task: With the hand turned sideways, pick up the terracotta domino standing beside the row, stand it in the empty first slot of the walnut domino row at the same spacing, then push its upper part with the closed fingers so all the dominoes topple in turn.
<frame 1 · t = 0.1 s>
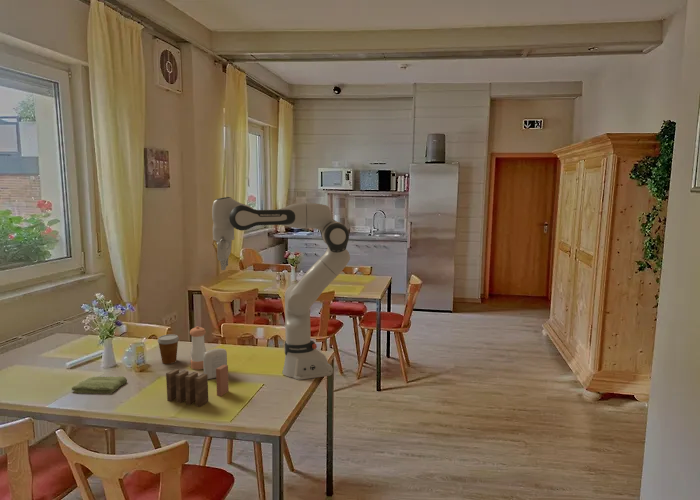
hand: (224, 268, 210), 48 cm above the table, tool pointing down, fingers open, 8 cm apart
pepper shaker: (199, 367, 227), on the table
walnut domino 3: (183, 400, 192), on the table
disposable coffee cup: (169, 362, 234), on the table
walnut domino 2: (192, 401, 190), on the table
walnut domino 4: (173, 398, 193), on the table
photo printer: (215, 376, 215), on the table
terracotta domino: (222, 393, 198), on the table
walnut domino 1: (202, 403, 188), on the table
washcloth: (100, 388, 204), on the table
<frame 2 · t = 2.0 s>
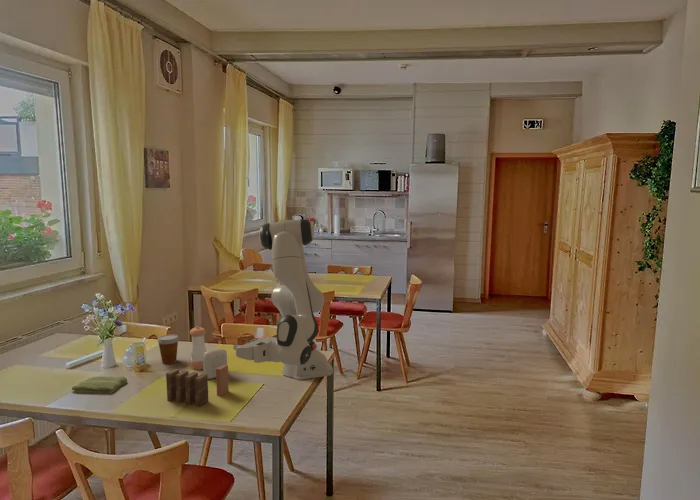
hand: (242, 344, 192), 21 cm above the table, tool horizontal, fingers open, 8 cm apart
nothing on the table moved.
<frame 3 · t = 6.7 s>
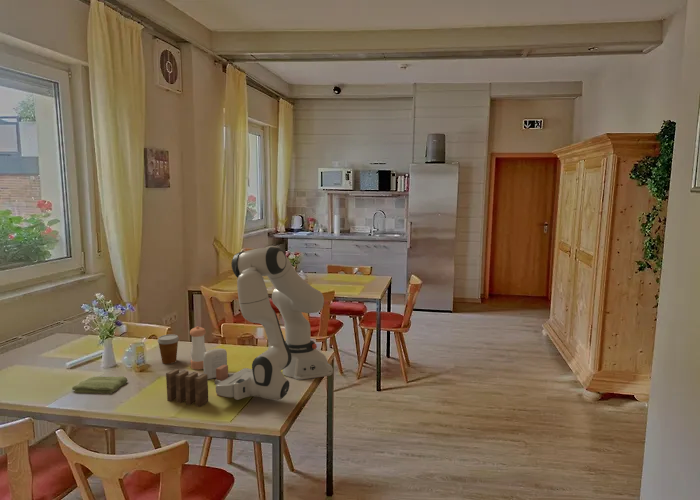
hand: (220, 378, 198), 6 cm above the table, tool horizontal, fingers closed on terracotta domino, 5 cm apart
terracotta domino: (222, 393, 198), on the table, touching gripper
everything else where it was.
when the fingers open (7 cm above the table, at t = 12.6 s): terracotta domino stays where it is, on the table.
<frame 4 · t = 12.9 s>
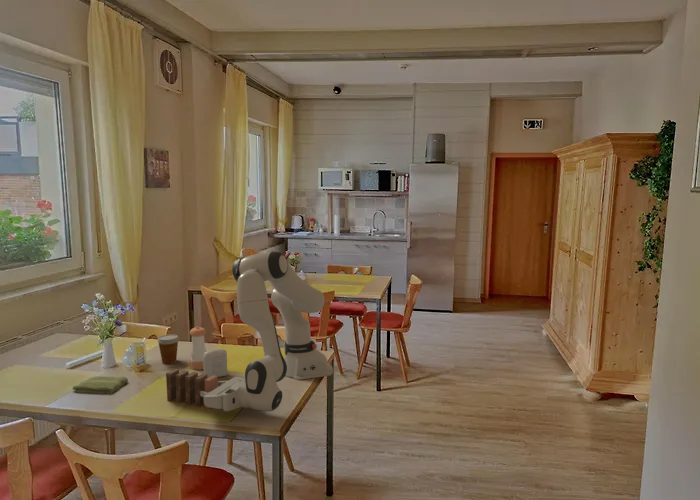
hand: (209, 388, 186), 7 cm above the table, tool horizontal, fingers open, 8 cm apart
terracotta domino: (212, 405, 187), on the table
everything else where it was.
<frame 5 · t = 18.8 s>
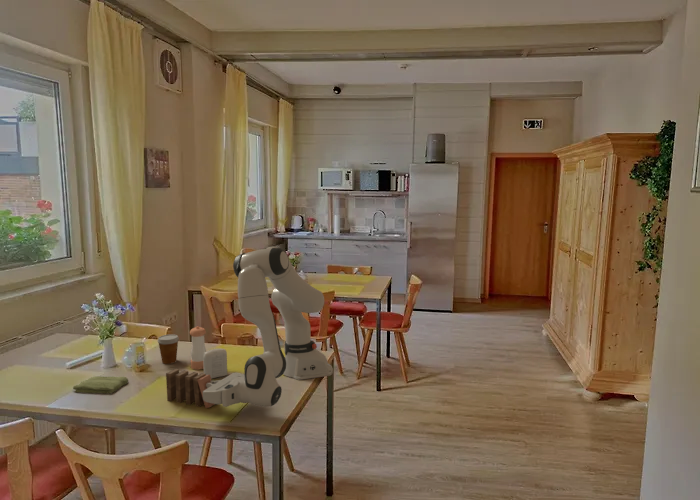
hand: (208, 383, 186), 8 cm above the table, tool horizontal, fingers closed
terracotta domino: (211, 404, 187), on the table, tilted 18°
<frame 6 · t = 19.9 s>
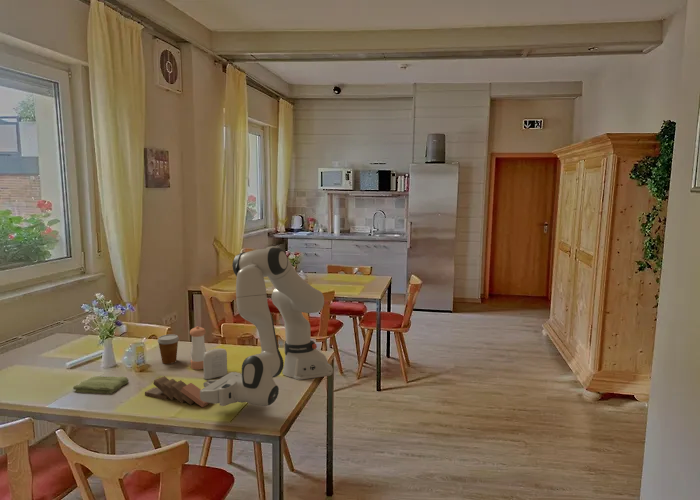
hand: (205, 383, 187), 9 cm above the table, tool horizontal, fingers closed
walnut domino 3: (177, 395, 193), point 1 cm above the table, tilted 66°, touching walnut domino 2
walnut domino 2: (187, 398, 191), point 1 cm above the table, tilted 65°, touching walnut domino 1, walnut domino 3
walnut domino 4: (171, 396, 194), on the table, tilted 90°
terracotta domino: (207, 402, 187), point 1 cm above the table, tilted 65°
walnut domino 1: (196, 400, 189), point 1 cm above the table, tilted 65°, touching walnut domino 2
everything else where it was.
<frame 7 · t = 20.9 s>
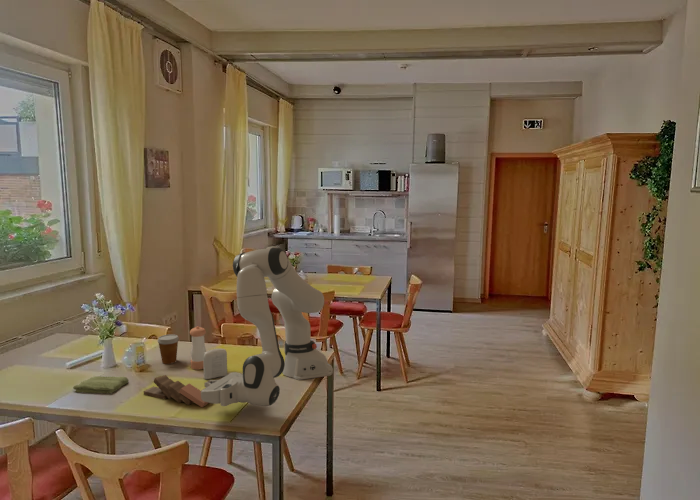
hand: (206, 383, 186), 9 cm above the table, tool horizontal, fingers closed
walnut domino 3: (175, 395, 193), point 1 cm above the table, tilted 66°, touching walnut domino 4
walnut domino 2: (184, 398, 191), point 1 cm above the table, tilted 65°, touching walnut domino 1
walnut domino 4: (169, 395, 195), on the table, tilted 90°, touching walnut domino 3
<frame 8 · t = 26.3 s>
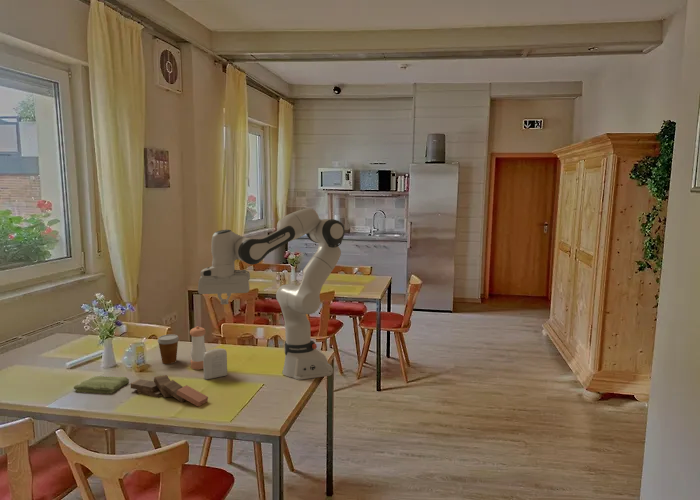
hand: (224, 303, 200), 35 cm above the table, tool pointing down, fingers closed
walnut domino 3: (156, 387, 198), point 2 cm above the table, tilted 89°, touching walnut domino 4
walnut domino 2: (171, 394, 194), point 1 cm above the table, tilted 71°
walnut domino 4: (162, 394, 196), on the table, tilted 90°, touching walnut domino 3
terracotta domino: (203, 401, 188), point 1 cm above the table, tilted 75°, touching walnut domino 1
walnut domino 1: (186, 397, 192), point 1 cm above the table, tilted 71°, touching terracotta domino
everything else where it was.
at the end: terracotta domino inside the target area (2.7 cm from its centre), point 1.0 cm above the table; walnut domino 4 tilted 90° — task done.
